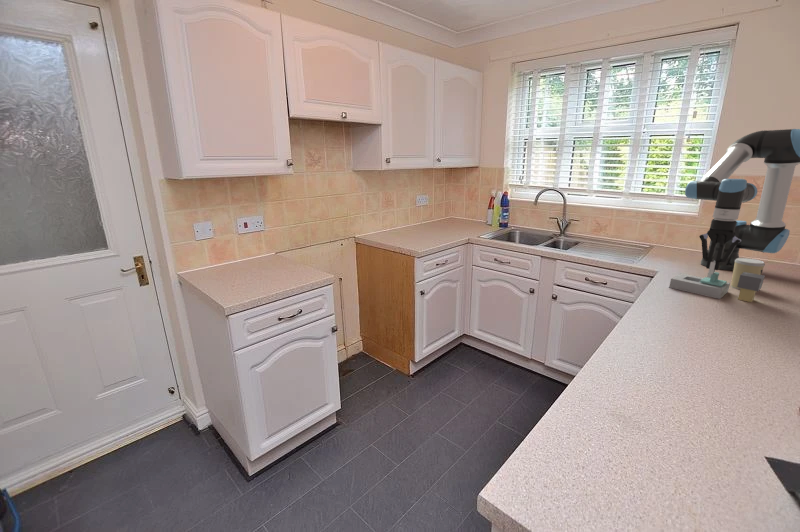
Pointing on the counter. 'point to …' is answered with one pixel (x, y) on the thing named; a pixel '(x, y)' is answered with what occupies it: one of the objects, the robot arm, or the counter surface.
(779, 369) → the counter surface
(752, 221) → the robot arm
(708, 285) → the socket plate
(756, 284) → the plug
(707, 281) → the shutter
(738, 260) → the coffee cup
